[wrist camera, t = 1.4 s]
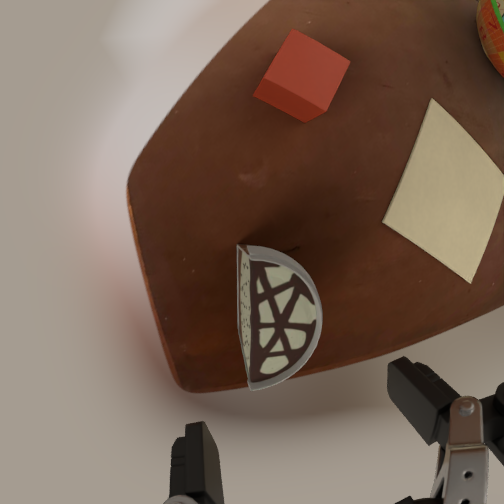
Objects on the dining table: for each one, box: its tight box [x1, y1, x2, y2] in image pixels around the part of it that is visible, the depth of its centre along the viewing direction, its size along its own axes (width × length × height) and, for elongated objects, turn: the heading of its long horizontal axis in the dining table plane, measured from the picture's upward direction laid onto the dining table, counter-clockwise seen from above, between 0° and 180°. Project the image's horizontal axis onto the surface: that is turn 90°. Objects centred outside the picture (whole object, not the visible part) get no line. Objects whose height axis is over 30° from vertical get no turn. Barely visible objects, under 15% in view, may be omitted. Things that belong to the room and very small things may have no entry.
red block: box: [253, 29, 350, 123], centre depth 25 cm, size 6×6×6 cm
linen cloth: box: [382, 99, 504, 283], centre depth 34 cm, size 20×18×1 cm
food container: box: [237, 244, 322, 391], centre depth 28 cm, size 12×6×10 cm, turn 0°
